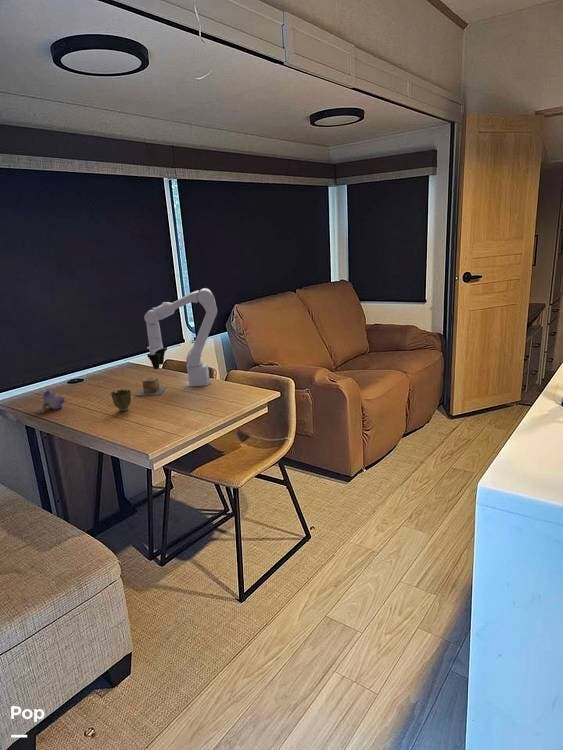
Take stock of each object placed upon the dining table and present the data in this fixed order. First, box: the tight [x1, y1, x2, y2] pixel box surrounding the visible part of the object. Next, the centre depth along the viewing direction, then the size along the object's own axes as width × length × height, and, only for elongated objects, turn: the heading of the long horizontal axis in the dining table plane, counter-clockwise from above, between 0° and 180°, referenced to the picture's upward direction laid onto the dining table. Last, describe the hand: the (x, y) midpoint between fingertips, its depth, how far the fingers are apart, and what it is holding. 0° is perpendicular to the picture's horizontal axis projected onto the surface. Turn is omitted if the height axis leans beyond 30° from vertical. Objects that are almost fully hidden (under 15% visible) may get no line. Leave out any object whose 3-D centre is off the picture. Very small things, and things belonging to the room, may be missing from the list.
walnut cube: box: [142, 376, 160, 393], centre depth 214 cm, size 6×6×6 cm
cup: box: [110, 388, 132, 413], centre depth 192 cm, size 8×7×8 cm
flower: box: [41, 389, 65, 414], centre depth 199 cm, size 9×9×10 cm
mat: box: [135, 386, 168, 397], centre depth 215 cm, size 11×11×1 cm
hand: (158, 366), depth 218 cm, fingers open, 7 cm apart
